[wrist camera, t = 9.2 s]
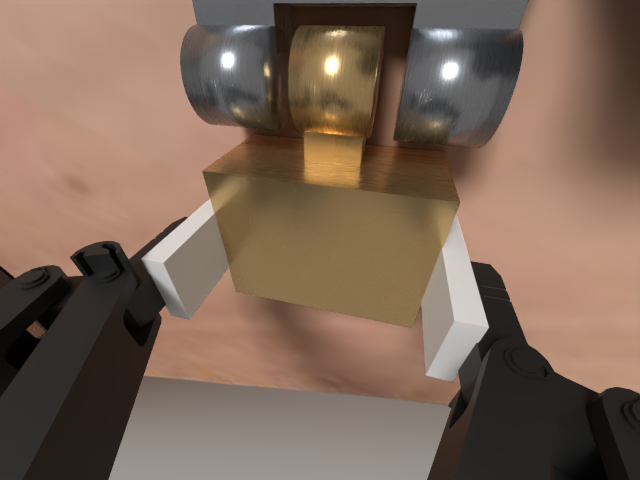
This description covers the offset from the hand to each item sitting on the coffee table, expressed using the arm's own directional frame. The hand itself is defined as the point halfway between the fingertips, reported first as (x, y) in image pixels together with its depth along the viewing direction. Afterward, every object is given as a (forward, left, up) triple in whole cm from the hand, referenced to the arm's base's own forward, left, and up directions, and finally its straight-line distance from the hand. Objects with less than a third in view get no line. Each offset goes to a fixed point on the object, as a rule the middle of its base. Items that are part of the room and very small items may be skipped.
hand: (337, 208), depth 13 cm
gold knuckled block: (0, +2, 0) cm, 2 cm away
